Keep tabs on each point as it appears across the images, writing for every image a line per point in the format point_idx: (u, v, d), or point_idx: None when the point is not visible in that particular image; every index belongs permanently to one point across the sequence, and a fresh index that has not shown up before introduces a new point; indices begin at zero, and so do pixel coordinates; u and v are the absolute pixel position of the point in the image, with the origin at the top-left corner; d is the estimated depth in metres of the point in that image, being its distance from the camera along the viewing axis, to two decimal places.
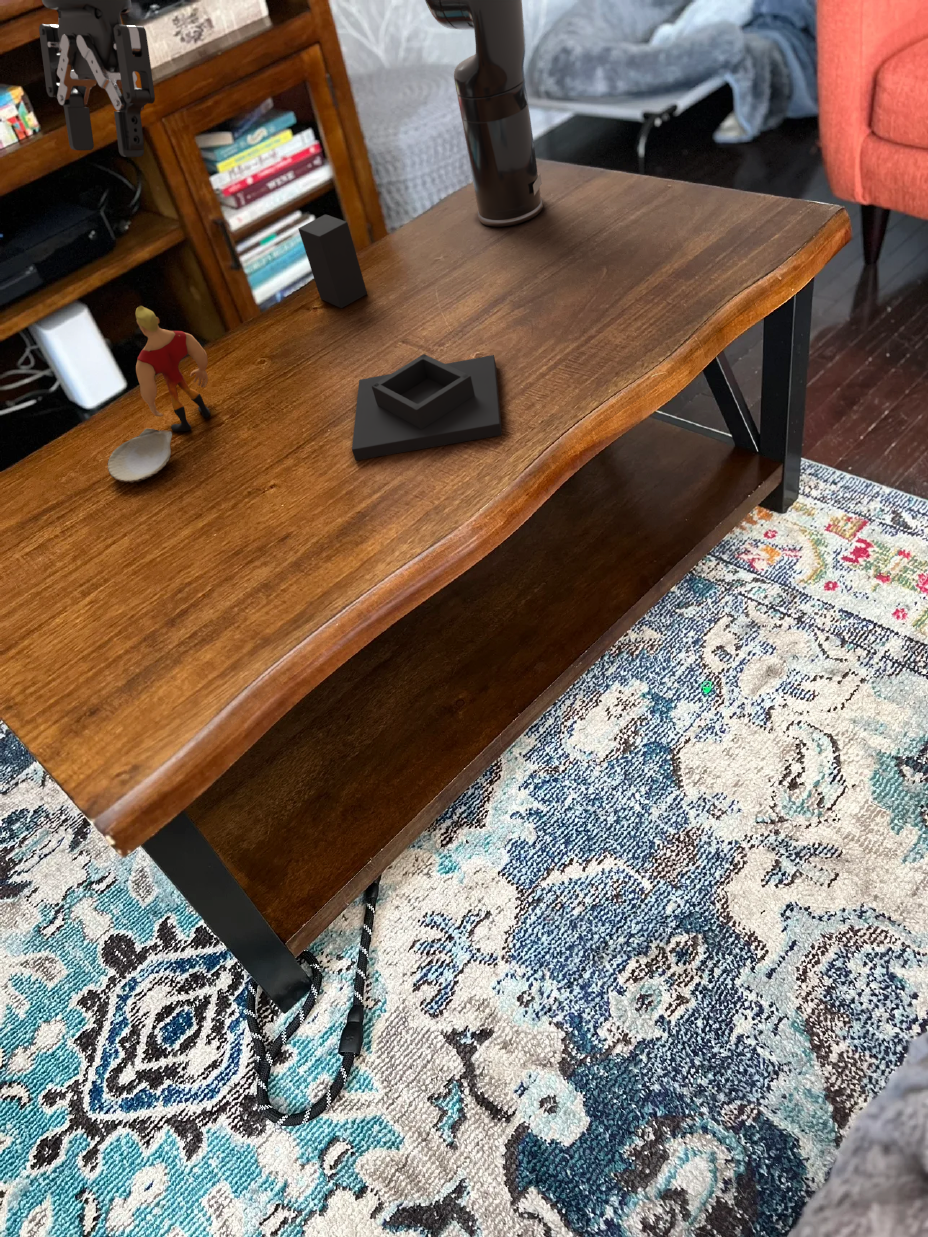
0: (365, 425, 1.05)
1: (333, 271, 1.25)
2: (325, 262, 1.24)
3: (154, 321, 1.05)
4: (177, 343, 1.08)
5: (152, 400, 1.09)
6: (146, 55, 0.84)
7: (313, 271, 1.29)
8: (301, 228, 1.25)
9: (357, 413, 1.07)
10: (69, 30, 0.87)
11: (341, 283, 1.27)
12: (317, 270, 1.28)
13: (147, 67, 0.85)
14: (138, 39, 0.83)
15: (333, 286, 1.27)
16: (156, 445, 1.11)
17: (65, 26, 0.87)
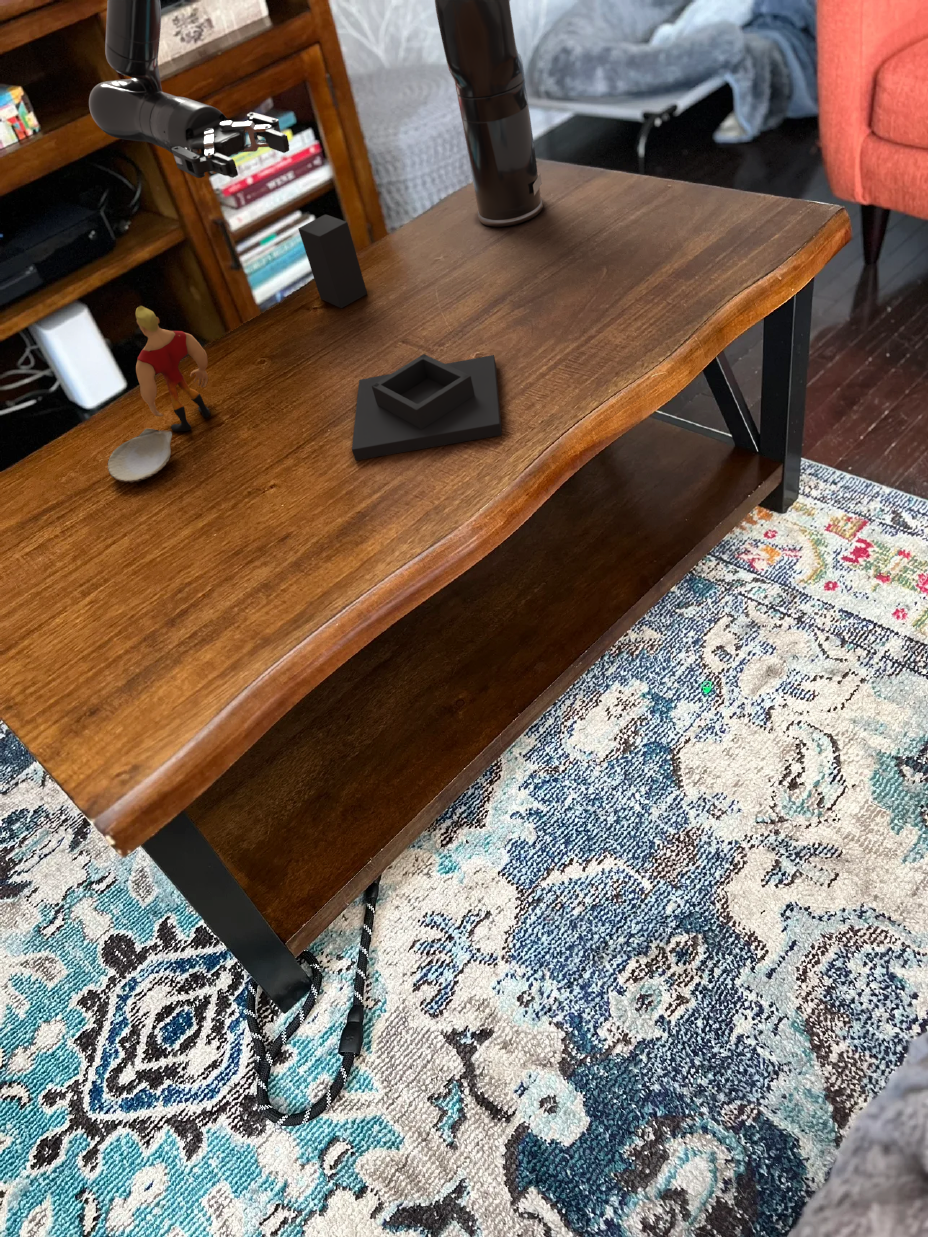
0: (365, 425, 1.05)
1: (333, 271, 1.25)
2: (325, 262, 1.24)
3: (154, 321, 1.05)
4: (177, 343, 1.08)
5: (152, 400, 1.09)
6: (179, 155, 1.25)
7: (313, 271, 1.29)
8: (301, 228, 1.25)
9: (357, 413, 1.07)
10: None
11: (341, 283, 1.27)
12: (317, 270, 1.28)
13: (183, 157, 1.25)
14: (176, 157, 1.26)
15: (333, 286, 1.27)
16: (156, 445, 1.11)
17: None
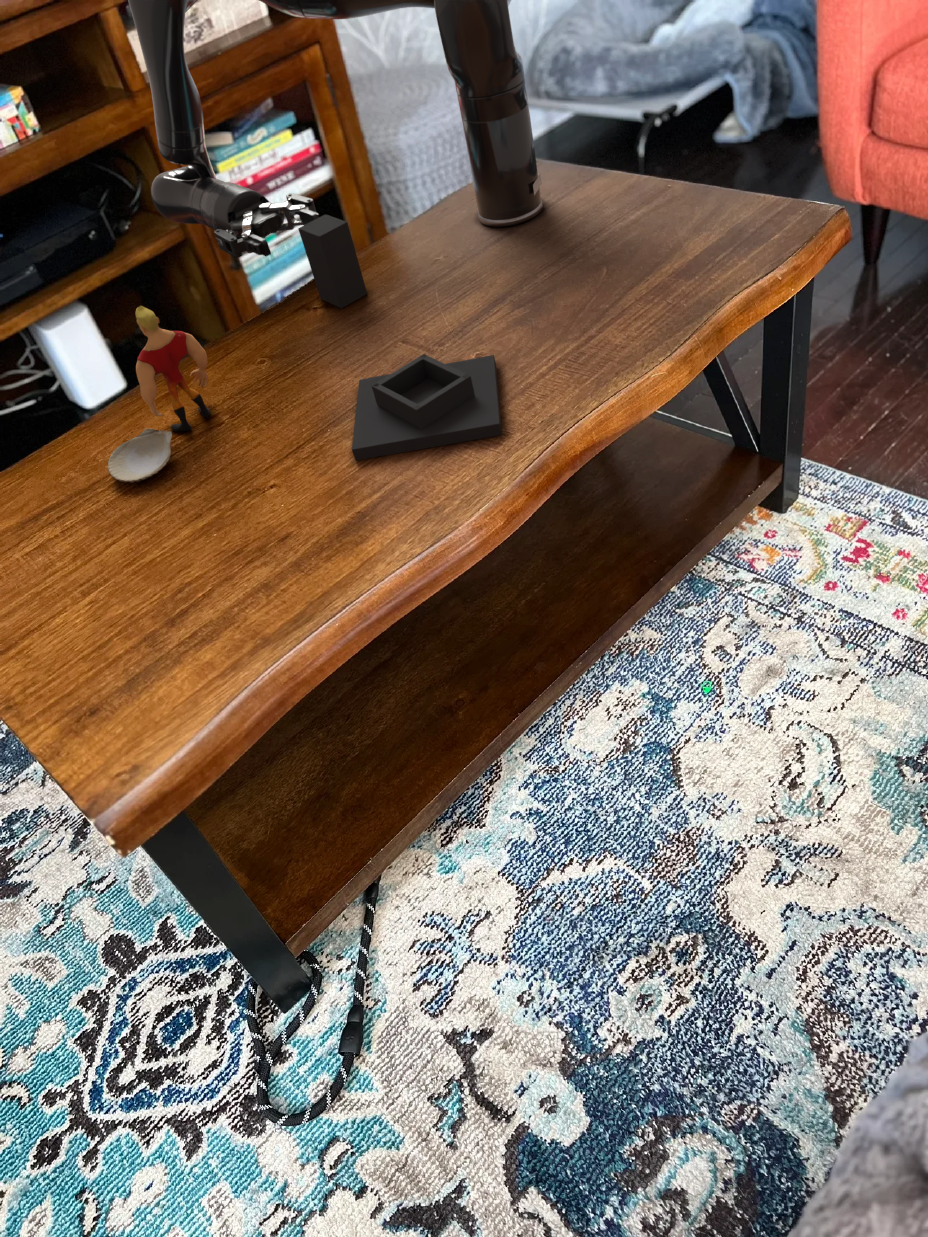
0: (365, 425, 1.05)
1: (333, 271, 1.25)
2: (325, 262, 1.24)
3: (154, 321, 1.05)
4: (177, 343, 1.08)
5: (152, 400, 1.09)
6: (219, 237, 1.34)
7: (313, 271, 1.29)
8: (301, 228, 1.25)
9: (357, 413, 1.07)
10: None
11: (341, 283, 1.27)
12: (317, 270, 1.28)
13: (222, 239, 1.34)
14: (218, 239, 1.35)
15: (333, 286, 1.27)
16: (156, 445, 1.11)
17: None
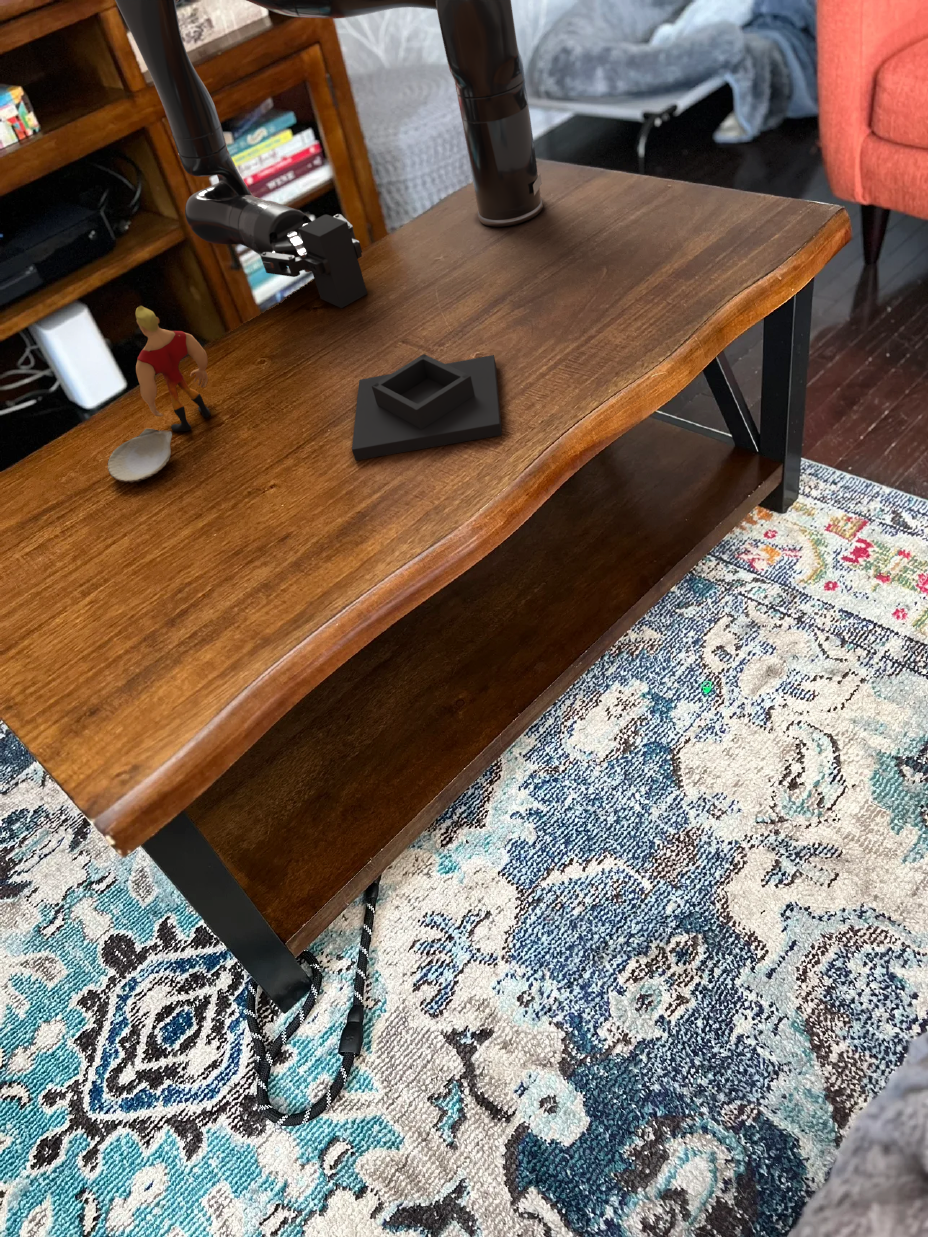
0: (365, 425, 1.05)
1: (333, 271, 1.25)
2: None
3: (154, 321, 1.05)
4: (177, 343, 1.08)
5: (152, 400, 1.09)
6: (271, 259, 1.27)
7: None
8: (301, 228, 1.25)
9: (357, 413, 1.07)
10: None
11: (341, 283, 1.27)
12: None
13: (276, 260, 1.27)
14: (266, 262, 1.28)
15: (333, 286, 1.27)
16: (156, 445, 1.11)
17: None
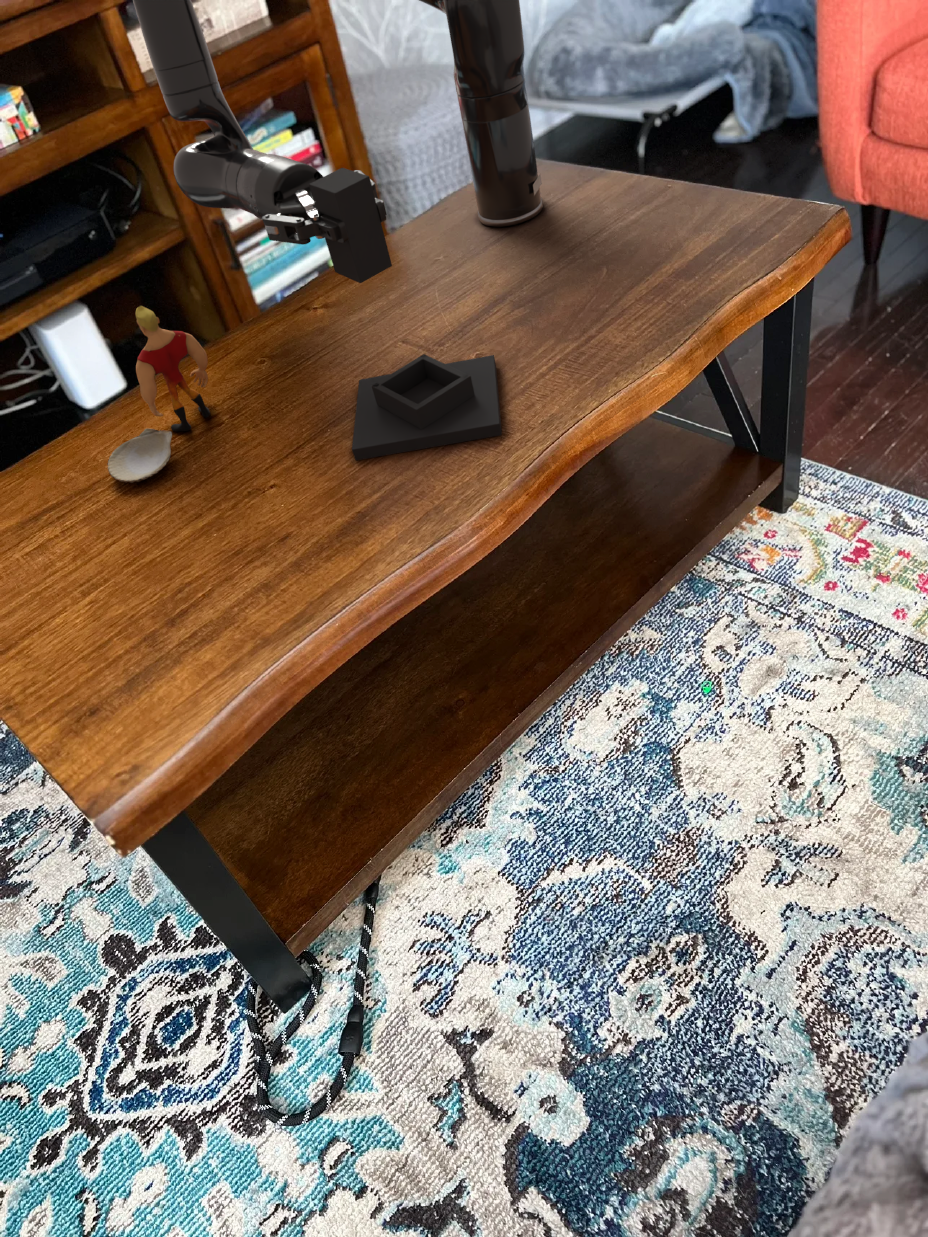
0: (365, 425, 1.05)
1: (351, 238, 1.02)
2: None
3: (154, 321, 1.05)
4: (177, 343, 1.08)
5: (152, 400, 1.09)
6: (275, 223, 1.04)
7: None
8: (312, 184, 1.02)
9: (357, 413, 1.07)
10: None
11: (361, 252, 1.04)
12: None
13: (281, 224, 1.04)
14: (269, 227, 1.05)
15: (351, 255, 1.04)
16: (156, 445, 1.11)
17: None
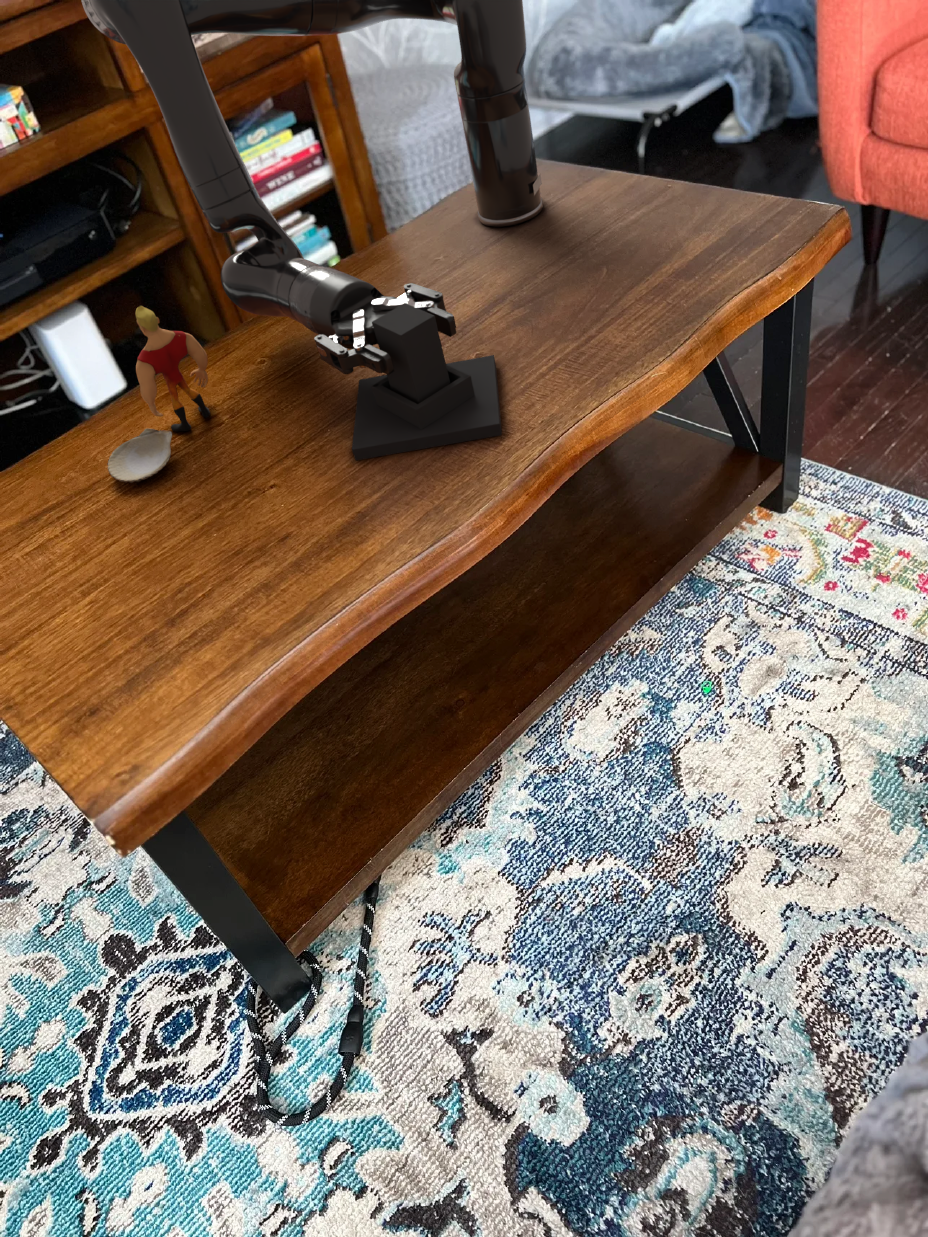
0: (365, 425, 1.05)
1: (415, 376, 1.00)
2: (406, 364, 0.99)
3: (154, 321, 1.05)
4: (177, 343, 1.08)
5: (152, 400, 1.09)
6: (323, 347, 1.02)
7: None
8: (376, 322, 1.00)
9: (357, 413, 1.07)
10: None
11: (424, 388, 1.02)
12: None
13: (327, 350, 1.01)
14: (319, 348, 1.03)
15: (414, 392, 1.02)
16: (156, 445, 1.11)
17: None
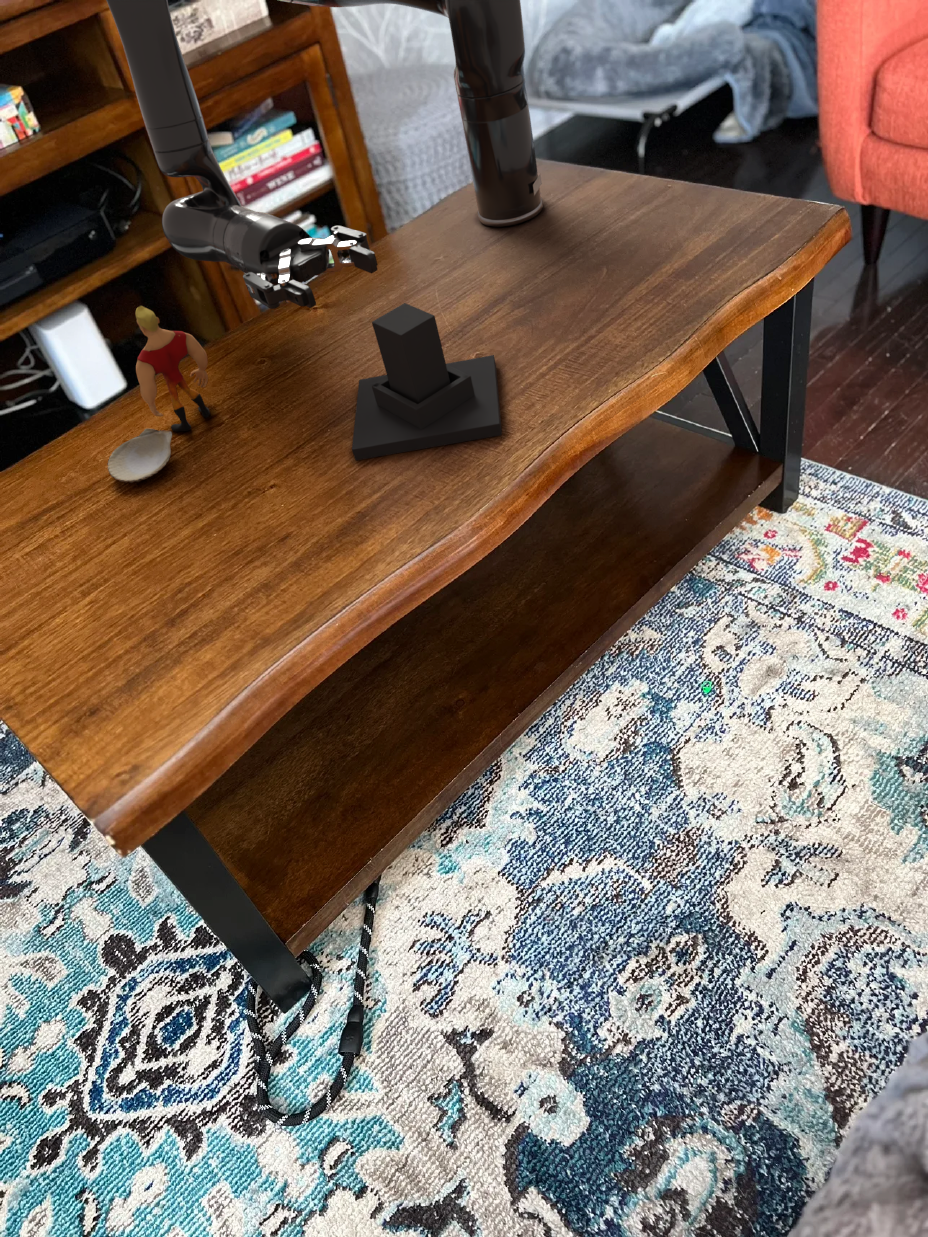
0: (365, 425, 1.05)
1: (415, 376, 1.00)
2: (406, 364, 0.99)
3: (154, 321, 1.05)
4: (177, 343, 1.08)
5: (152, 400, 1.09)
6: (250, 283, 1.07)
7: (388, 372, 1.04)
8: (376, 322, 1.00)
9: (357, 413, 1.07)
10: None
11: (424, 388, 1.02)
12: (393, 371, 1.03)
13: (254, 286, 1.06)
14: (248, 285, 1.08)
15: (414, 392, 1.02)
16: (156, 445, 1.11)
17: None
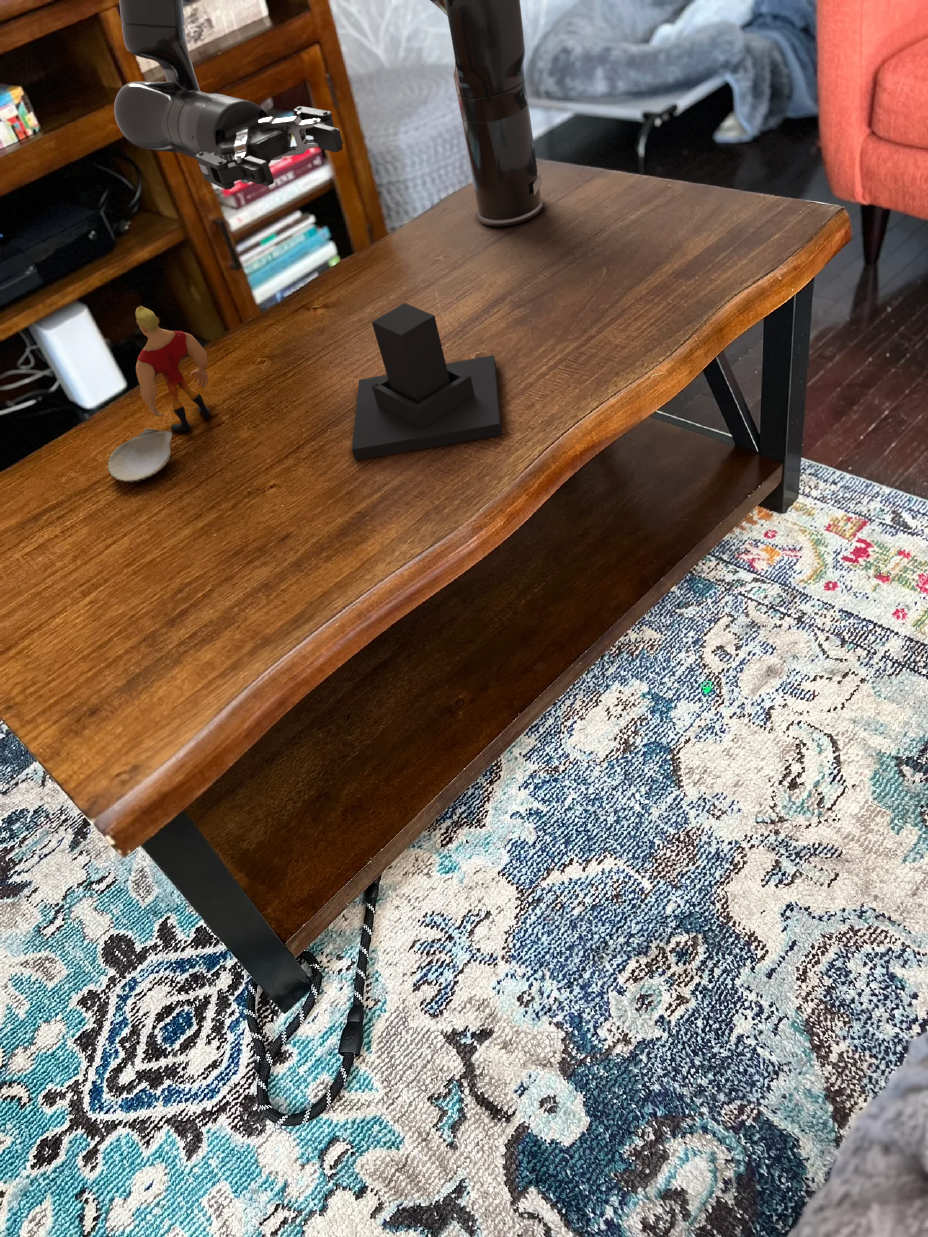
0: (365, 425, 1.05)
1: (415, 376, 1.00)
2: (406, 364, 0.99)
3: (154, 321, 1.05)
4: (177, 343, 1.08)
5: (152, 400, 1.09)
6: (203, 162, 0.98)
7: (388, 372, 1.04)
8: (376, 322, 1.00)
9: (357, 413, 1.07)
10: None
11: (424, 388, 1.02)
12: (393, 371, 1.03)
13: (207, 164, 0.97)
14: (201, 165, 0.99)
15: (414, 392, 1.02)
16: (156, 445, 1.11)
17: None
